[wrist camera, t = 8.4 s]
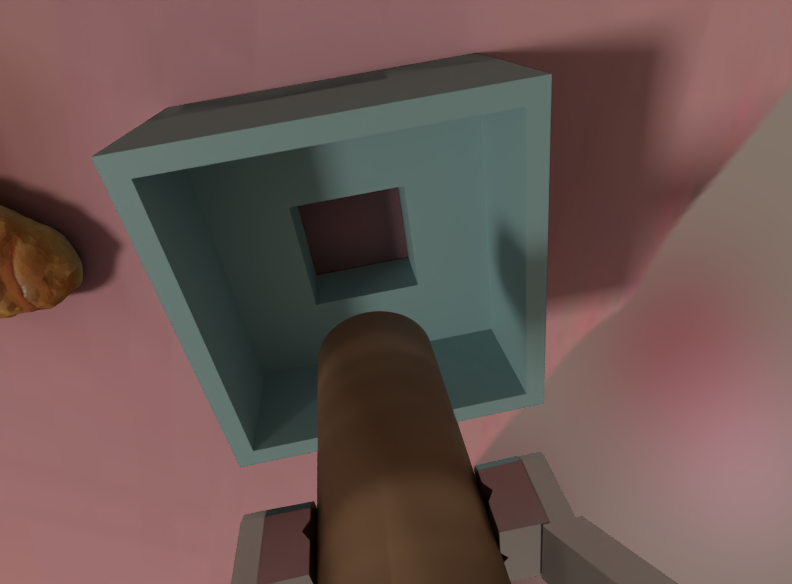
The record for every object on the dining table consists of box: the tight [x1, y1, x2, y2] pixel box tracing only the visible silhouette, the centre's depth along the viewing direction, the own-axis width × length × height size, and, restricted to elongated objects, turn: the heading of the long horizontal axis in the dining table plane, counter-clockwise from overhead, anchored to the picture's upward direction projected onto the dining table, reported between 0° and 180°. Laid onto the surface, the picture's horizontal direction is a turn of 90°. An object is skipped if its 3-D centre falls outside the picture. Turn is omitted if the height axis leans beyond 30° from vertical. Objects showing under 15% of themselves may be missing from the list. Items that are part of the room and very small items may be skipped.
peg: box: [317, 311, 511, 584], centre depth 10 cm, size 4×4×12 cm
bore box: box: [91, 53, 552, 467], centre depth 21 cm, size 14×14×8 cm
